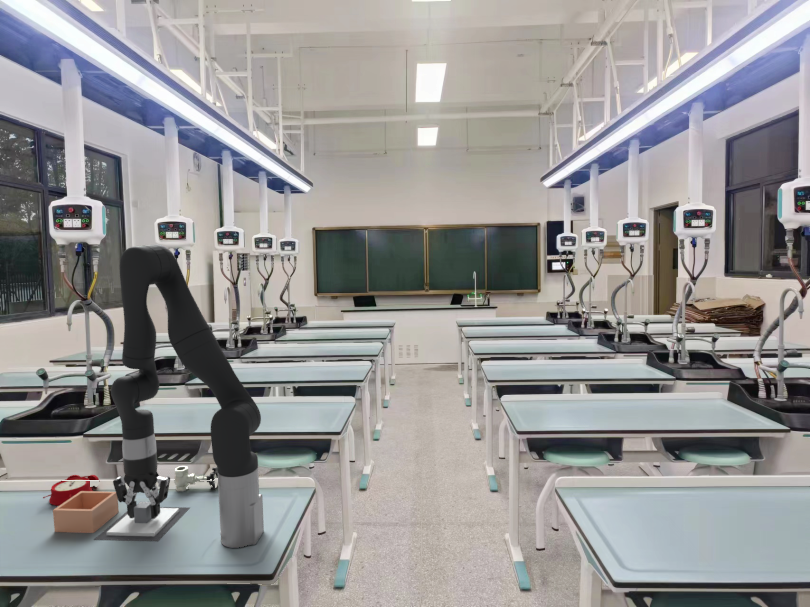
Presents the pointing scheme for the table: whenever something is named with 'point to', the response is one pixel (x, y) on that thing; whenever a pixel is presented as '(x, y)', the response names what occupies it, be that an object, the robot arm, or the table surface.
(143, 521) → the lid
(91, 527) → the tub
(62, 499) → the alarm clock
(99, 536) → the mat
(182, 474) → the valve
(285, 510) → the table surface
